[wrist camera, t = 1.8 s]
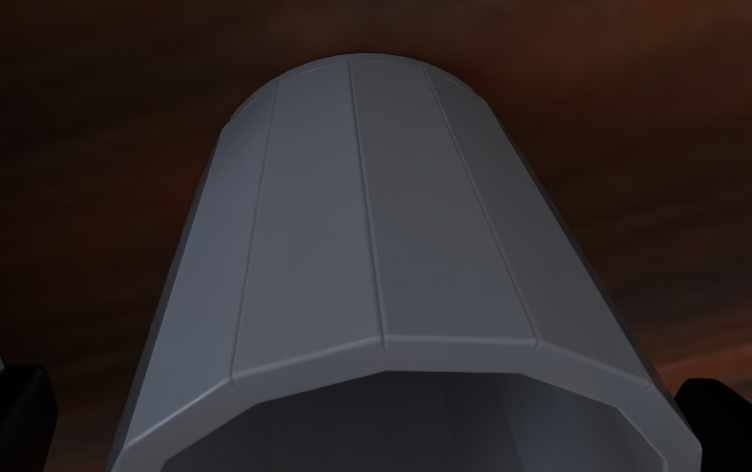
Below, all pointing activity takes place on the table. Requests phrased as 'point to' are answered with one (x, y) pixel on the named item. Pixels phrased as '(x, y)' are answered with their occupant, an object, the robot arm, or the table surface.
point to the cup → (386, 300)
